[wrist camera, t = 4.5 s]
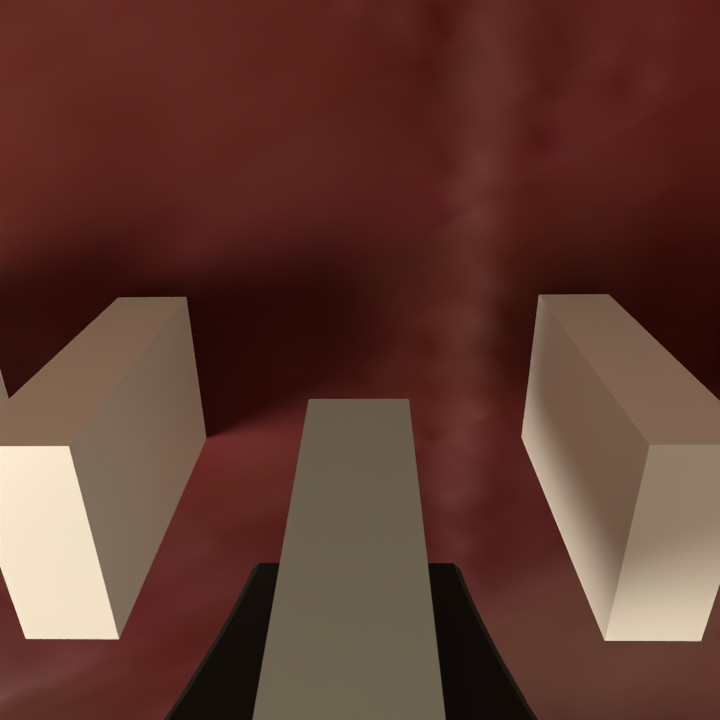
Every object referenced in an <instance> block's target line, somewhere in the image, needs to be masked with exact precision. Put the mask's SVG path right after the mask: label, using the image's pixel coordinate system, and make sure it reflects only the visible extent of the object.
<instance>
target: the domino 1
mask: <svg viewBox="0 0 720 720" xmlns="http://www.w3.org/2000/svg"><path fill="white" fill-rule="evenodd" d="M8 399H9V397H8V394H7V391H6V387H5V384H4V381H3V377H2V374H1V371H0V407H1V406H2V405H3V404H4V403H5V402H6V401H7V400H8Z"/></svg>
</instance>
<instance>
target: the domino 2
mask: <svg viewBox="0 0 720 720" xmlns="http://www.w3.org/2000/svg"><path fill="white" fill-rule="evenodd" d="M205 440H206V431H205V424H204V417H203V410H202V403H201V396H200V389H199V382H198V375H197V368H196V361H195V354H194V347H193V340H192V333H191V326H190V319H189V312H188V305H187V298H186V297H118V298H117V299H116V300H115V301H114V302H113V303H112V304H111V305H110V306H109V307H107V308H106V309H105V310H104V311H103V312H102V313H101V314H100V315H99V316H98V317H97V318H96V319H95V320H93V321H92V322H91V323H90V324H89V325H88V326H87V327H86V328H85V329H84V330H83V331H82V332H81V333H79V334H78V335H77V336H76V337H75V338H74V339H73V340H72V341H71V342H70V343H69V344H68V345H66V346H65V347H64V348H63V349H62V350H61V351H60V352H59V353H58V354H57V355H56V356H55V357H54V358H52V359H51V360H50V361H49V362H48V363H47V364H46V365H45V366H44V367H43V368H42V369H41V370H40V371H38V372H37V373H36V374H35V375H34V376H33V377H32V378H31V379H30V380H29V381H28V382H27V383H26V384H24V385H23V386H22V387H21V388H20V389H19V390H18V391H17V392H16V393H15V394H14V395H13V396H12V397H10V398H9V399H8V400H7V401H6V402H5V403H4V404H3V405H2V406H1V407H0V567H1V570H2V573H3V576H4V578H5V581H6V584H7V587H8V590H9V593H10V595H11V598H12V601H13V604H14V607H15V610H16V612H17V615H18V618H19V621H20V624H21V627H22V629H23V632H24V635H25V638H26V639H119V638H120V636H121V633H122V631H123V629H124V626H125V624H126V622H127V620H128V617H129V615H130V613H131V610H132V608H133V606H134V603H135V601H136V599H137V597H138V594H139V592H140V590H141V587H142V585H143V583H144V580H145V578H146V576H147V574H148V571H149V569H150V567H151V564H152V562H153V560H154V558H155V555H156V553H157V551H158V548H159V546H160V544H161V541H162V539H163V537H164V535H165V532H166V530H167V528H168V525H169V523H170V521H171V519H172V516H173V514H174V512H175V509H176V507H177V505H178V502H179V500H180V498H181V496H182V493H183V491H184V489H185V486H186V484H187V482H188V480H189V477H190V475H191V473H192V470H193V468H194V466H195V463H196V461H197V459H198V457H199V454H200V452H201V450H202V447H203V445H204V443H205Z"/></svg>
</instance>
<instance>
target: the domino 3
mask: <svg viewBox="0 0 720 720" xmlns="http://www.w3.org/2000/svg"><path fill="white" fill-rule="evenodd" d="M252 720H446V718H445V709H444V701H443V692H442V683H441V675H440V666H439V657H438V649H437V640H436V631H435V623H434V614H433V605H432V597H431V588H430V579H429V571H428V562H427V553H426V545H425V536H424V527H423V519H422V510H421V501H420V493H419V484H418V475H417V467H416V458H415V450H414V441H413V432H412V424H411V415H410V406H409V399H309V400H308V406H307V411H306V417H305V423H304V428H303V434H302V440H301V446H300V451H299V457H298V463H297V468H296V474H295V480H294V485H293V491H292V497H291V503H290V508H289V514H288V520H287V525H286V531H285V537H284V543H283V548H282V554H281V560H280V565H279V571H278V577H277V582H276V588H275V594H274V600H273V605H272V611H271V617H270V622H269V628H268V634H267V640H266V645H265V651H264V657H263V662H262V668H261V674H260V679H259V685H258V691H257V697H256V702H255V708H254V714H253V719H252Z"/></svg>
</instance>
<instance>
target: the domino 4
mask: <svg viewBox="0 0 720 720" xmlns="http://www.w3.org/2000/svg"><path fill="white" fill-rule="evenodd" d="M522 440H523V442H524V445H525V447H526V450H527V452H528V454H529V457H530V459H531V462H532V464H533V467H534V469H535V472H536V474H537V476H538V479H539V481H540V484H541V486H542V489H543V491H544V494H545V496H546V498H547V501H548V503H549V506H550V508H551V511H552V513H553V516H554V518H555V520H556V523H557V525H558V528H559V530H560V533H561V535H562V538H563V540H564V542H565V545H566V547H567V550H568V552H569V555H570V557H571V560H572V562H573V564H574V567H575V569H576V572H577V574H578V577H579V579H580V582H581V584H582V586H583V589H584V591H585V594H586V596H587V599H588V601H589V604H590V606H591V608H592V611H593V613H594V616H595V618H596V621H597V623H598V625H599V628H600V630H601V633H602V635H603V638H604V640H605V641H701V639H702V636H703V633H704V630H705V627H706V624H707V621H708V618H709V615H710V612H711V609H712V605H713V602H714V599H715V596H716V593H717V590H718V587H719V584H720V401H719V400H718V399H717V398H716V397H715V396H714V395H713V394H712V393H711V392H710V391H709V390H708V389H707V388H706V387H705V386H704V385H703V384H702V383H700V382H699V381H698V380H697V379H696V378H695V377H694V376H693V375H692V374H691V373H690V372H689V371H688V370H687V369H686V368H685V367H684V366H683V365H682V364H681V363H680V362H679V361H678V360H676V359H675V358H674V357H673V356H672V355H671V354H670V353H669V352H668V351H667V350H666V349H665V348H664V347H663V346H662V345H661V344H660V343H659V342H658V341H657V340H656V339H655V338H654V337H653V336H651V335H650V334H649V333H648V332H647V331H646V330H645V329H644V328H643V327H642V326H641V325H640V324H639V323H638V322H637V321H636V320H635V319H634V318H633V317H632V316H631V315H630V314H629V313H628V312H626V311H625V310H624V309H623V308H622V307H621V306H620V305H619V304H618V303H617V302H616V301H615V300H614V299H613V298H612V297H611V296H610V295H609V294H557V295H539V297H538V306H537V314H536V322H535V330H534V339H533V347H532V355H531V363H530V372H529V380H528V388H527V396H526V405H525V413H524V421H523V429H522Z"/></svg>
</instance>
